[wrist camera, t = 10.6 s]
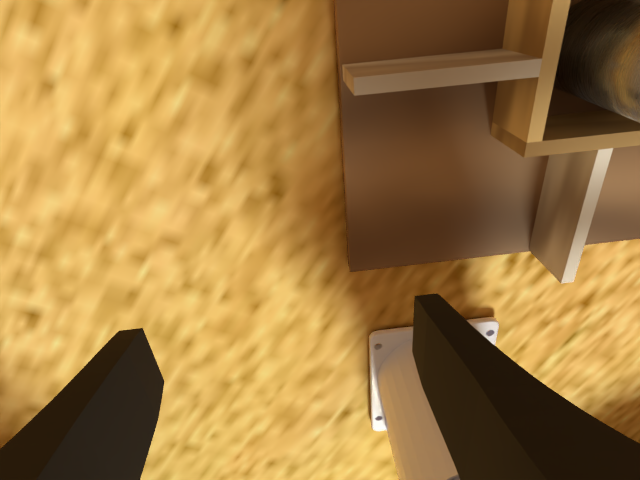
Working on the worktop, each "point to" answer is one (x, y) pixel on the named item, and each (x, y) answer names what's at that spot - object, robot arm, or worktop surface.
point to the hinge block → (474, 137)
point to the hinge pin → (602, 55)
